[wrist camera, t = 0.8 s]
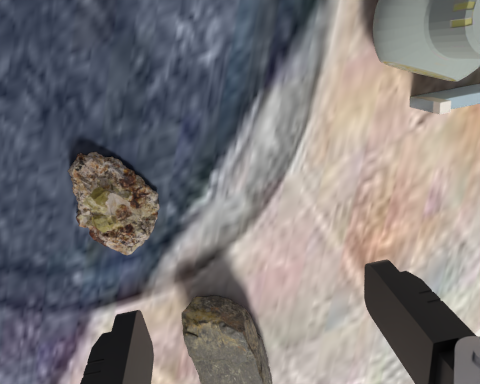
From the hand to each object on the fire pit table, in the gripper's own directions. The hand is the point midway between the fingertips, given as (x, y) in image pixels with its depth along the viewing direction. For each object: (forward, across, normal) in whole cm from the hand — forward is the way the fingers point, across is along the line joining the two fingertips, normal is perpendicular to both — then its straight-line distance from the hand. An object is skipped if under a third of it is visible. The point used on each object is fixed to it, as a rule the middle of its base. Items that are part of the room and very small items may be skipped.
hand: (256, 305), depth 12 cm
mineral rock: (+23, +11, +4) cm, 26 cm away
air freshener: (+23, -20, -7) cm, 31 cm away
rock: (+22, +3, +24) cm, 33 cm away
